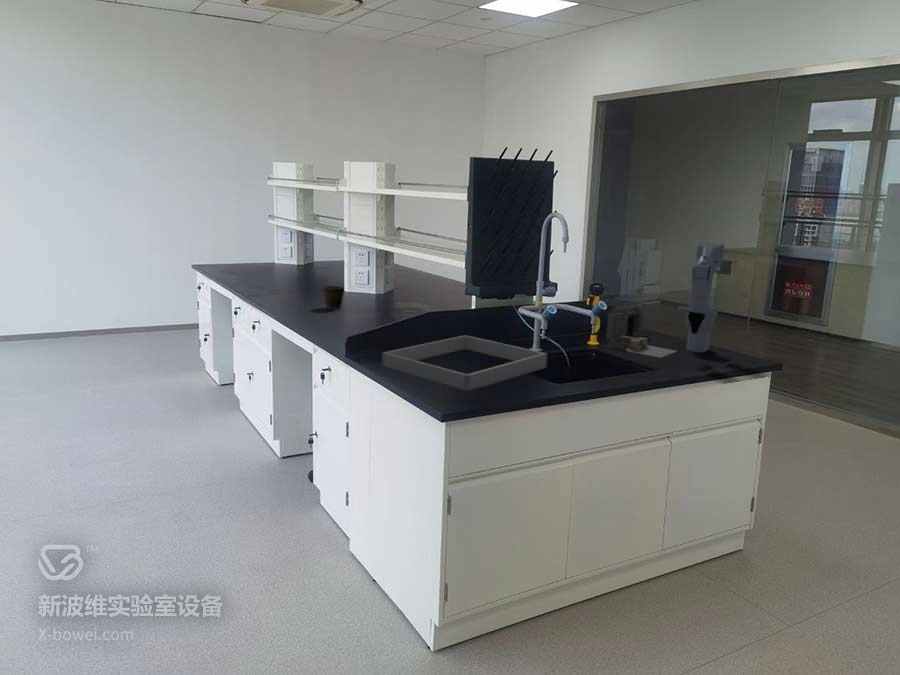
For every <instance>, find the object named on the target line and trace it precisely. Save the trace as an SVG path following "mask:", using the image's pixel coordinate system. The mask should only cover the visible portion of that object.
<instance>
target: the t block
mask: <svg viewBox="0 0 900 675" xmlns="http://www.w3.org/2000/svg"><path fill="white" fill-rule="evenodd" d="M634 337H635V336H632V337H628V336H620V339H619V342H620V343H625V344H627V347H629V349H632V350H639V349H642V348H645V347H647V345H648V338H647V337H642V336H641V337H637V338H634Z"/></svg>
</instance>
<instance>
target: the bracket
mask: <svg viewBox="0 0 900 675" xmlns="http://www.w3.org/2000/svg"><path fill="white" fill-rule="evenodd" d="M628 337H634V338H638V337H636V336H628ZM619 339H620V338H618V339H614V340H611V341H610V340H608V346H607V348H610V347H611V349H615V348H616V349H615V350H619V349H621V350H620V351H624V350H627V344H625V343H620V342H619Z"/></svg>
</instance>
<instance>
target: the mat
mask: <svg viewBox="0 0 900 675" xmlns="http://www.w3.org/2000/svg"><path fill="white" fill-rule="evenodd" d="M610 348H611V347H609V349H610ZM611 349H612V348H611ZM614 349H615V350H617V349H616V348H614ZM618 350H620V351H622V350H621V349H618ZM623 351H625V352H631V353H635V354H640V355H646V356H649V357H655V358H663V357H666V356H668V355H671V354H673V353H677V352H678V350H673V349H669V348H663V347H659V346H653V345H648V344H647V347H645V348H642V349H639V350H632V349H629V347H627V350H623Z"/></svg>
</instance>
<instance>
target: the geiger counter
mask: <svg viewBox="0 0 900 675" xmlns="http://www.w3.org/2000/svg"><path fill="white" fill-rule="evenodd" d="M611 310H612V311H609V312H606V314H605V316H606V317H607V325H606V335H605V336H606V337H605V340H606V341H611V340H614V339H618V338H620V336H632V337H637V338H639V337H642V334H643V331H646V329H647V326H648V325H647V321H646V320H645V319H644V317H645V312H644V311H643V310H644V305H643V304H642V303H641V304H635V305H630V306H629V305H628V306H620V307H619V306H618V307H613V308H612V309H611ZM644 323H645V327H643V326H644Z"/></svg>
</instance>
